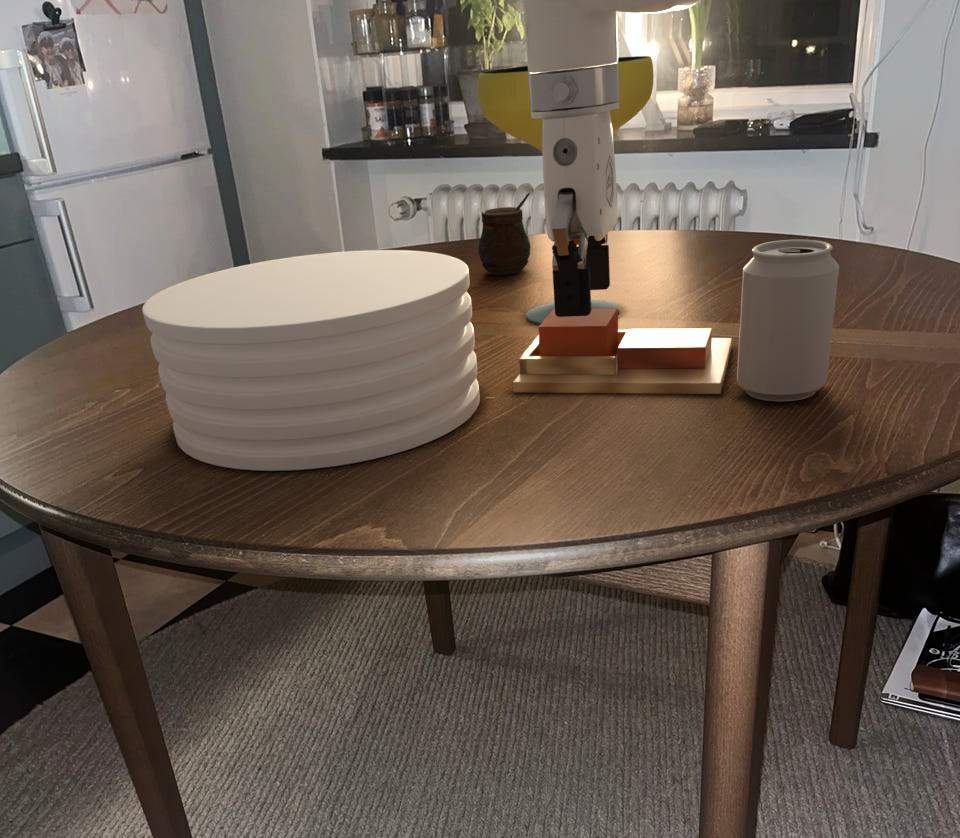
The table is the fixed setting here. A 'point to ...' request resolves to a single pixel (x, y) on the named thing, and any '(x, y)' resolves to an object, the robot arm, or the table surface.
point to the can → (787, 319)
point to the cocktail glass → (511, 113)
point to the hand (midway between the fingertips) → (583, 301)
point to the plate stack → (316, 358)
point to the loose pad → (580, 334)
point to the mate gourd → (504, 240)
